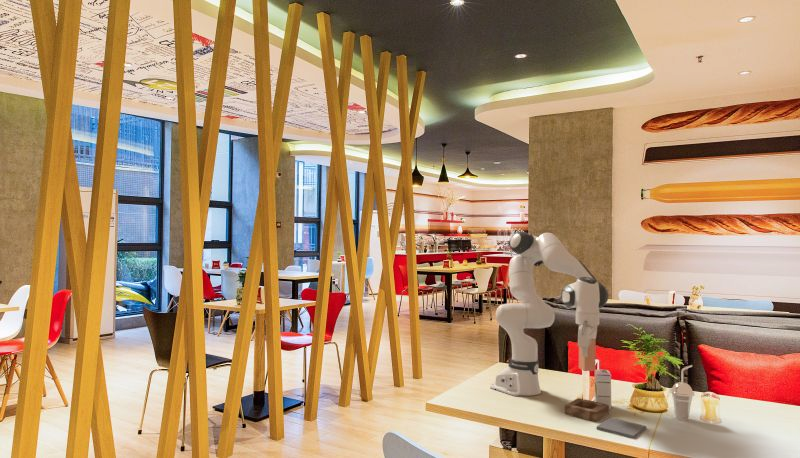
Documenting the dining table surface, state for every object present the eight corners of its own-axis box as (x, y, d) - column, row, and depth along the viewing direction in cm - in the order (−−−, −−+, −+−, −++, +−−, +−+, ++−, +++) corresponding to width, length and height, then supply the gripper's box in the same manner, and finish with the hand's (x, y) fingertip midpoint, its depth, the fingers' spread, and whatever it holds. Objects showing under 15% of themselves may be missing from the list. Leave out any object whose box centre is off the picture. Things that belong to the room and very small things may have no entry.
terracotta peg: (578, 368, 217) (579, 337, 216) (589, 367, 217) (589, 337, 217) (584, 371, 212) (584, 339, 212) (595, 370, 213) (595, 339, 213)
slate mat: (596, 429, 198) (596, 426, 198) (610, 420, 208) (610, 417, 208) (633, 438, 189) (633, 435, 189) (646, 428, 199) (646, 425, 199)
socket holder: (564, 414, 214) (564, 405, 214) (578, 406, 223) (578, 398, 223) (595, 421, 206) (596, 412, 206) (609, 413, 215) (609, 404, 215)
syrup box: (611, 409, 220) (611, 373, 220) (596, 408, 221) (596, 372, 221) (609, 405, 226) (609, 369, 226) (594, 404, 227) (594, 368, 227)
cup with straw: (665, 414, 214) (665, 363, 214) (689, 415, 214) (689, 363, 214) (675, 422, 206) (676, 368, 206) (700, 422, 205) (700, 369, 205)
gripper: (591, 324, 204) (590, 361, 204) (600, 316, 222) (599, 350, 222) (573, 322, 207) (573, 359, 207) (583, 315, 225) (583, 348, 225)
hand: (587, 354), depth 215 cm, fingers closed on terracotta peg, 6 cm apart
